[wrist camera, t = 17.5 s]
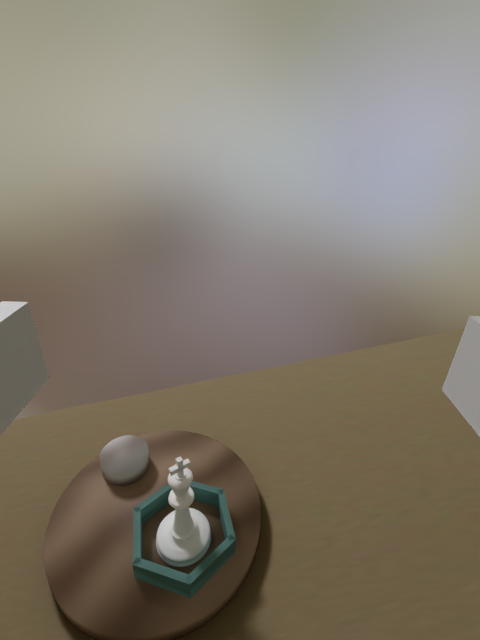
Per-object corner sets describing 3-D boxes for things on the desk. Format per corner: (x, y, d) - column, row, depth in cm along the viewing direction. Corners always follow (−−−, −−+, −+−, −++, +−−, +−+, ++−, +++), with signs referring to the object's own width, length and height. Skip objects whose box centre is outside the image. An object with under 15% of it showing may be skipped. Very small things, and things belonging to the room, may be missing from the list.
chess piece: (221, 544, 30) (223, 466, 26) (170, 580, 28) (162, 500, 23) (194, 502, 34) (191, 426, 29) (147, 530, 31) (136, 452, 27)
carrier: (301, 520, 34) (305, 497, 33) (111, 733, 21) (104, 713, 20) (182, 416, 47) (181, 396, 45) (17, 512, 34) (8, 488, 32)
